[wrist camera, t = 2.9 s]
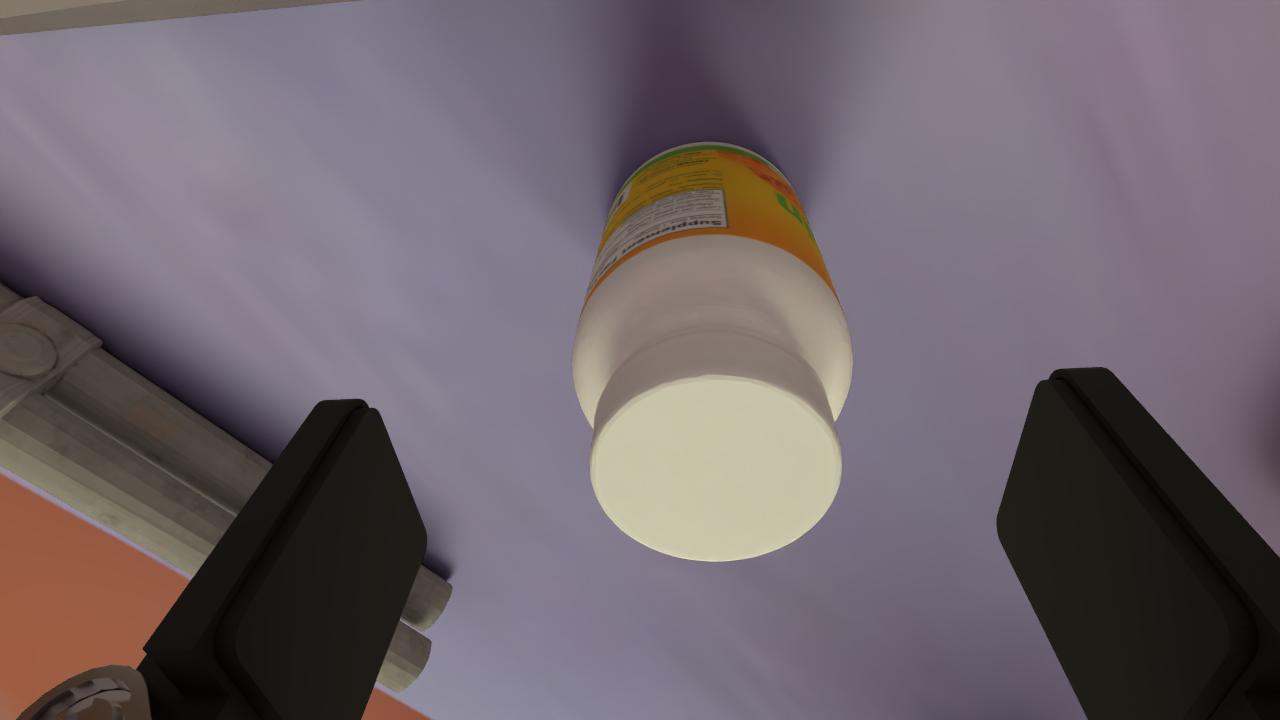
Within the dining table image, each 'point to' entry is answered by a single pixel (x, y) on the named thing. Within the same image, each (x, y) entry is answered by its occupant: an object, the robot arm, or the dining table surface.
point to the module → (42, 6)
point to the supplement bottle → (712, 359)
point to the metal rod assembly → (143, 457)
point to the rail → (138, 13)
